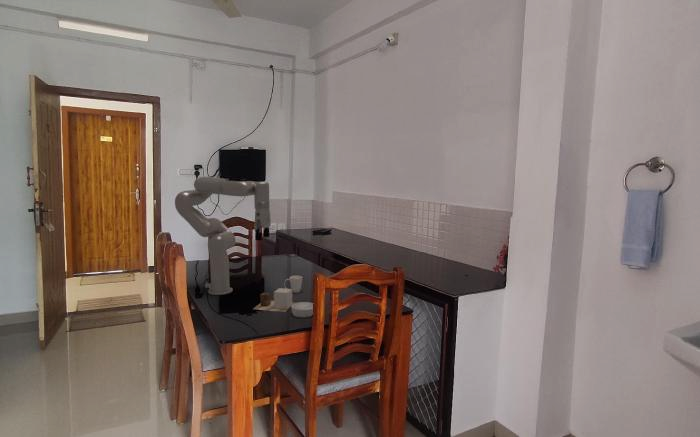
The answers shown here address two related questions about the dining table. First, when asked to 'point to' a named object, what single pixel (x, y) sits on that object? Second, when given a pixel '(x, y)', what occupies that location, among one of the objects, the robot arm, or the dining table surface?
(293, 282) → the cup
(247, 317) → the dining table surface
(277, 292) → the matte grey cube
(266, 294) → the post board
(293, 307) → the ramekin
